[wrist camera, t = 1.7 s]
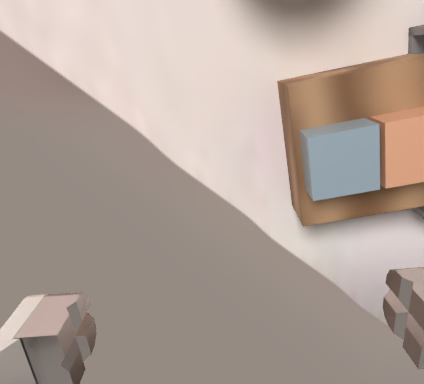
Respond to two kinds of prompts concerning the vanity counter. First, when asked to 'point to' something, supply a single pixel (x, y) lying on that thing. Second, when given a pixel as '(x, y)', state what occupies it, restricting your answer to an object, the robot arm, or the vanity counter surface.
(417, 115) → the tile
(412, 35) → the tray
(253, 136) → the vanity counter surface
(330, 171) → the tile
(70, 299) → the robot arm
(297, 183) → the cardboard box
